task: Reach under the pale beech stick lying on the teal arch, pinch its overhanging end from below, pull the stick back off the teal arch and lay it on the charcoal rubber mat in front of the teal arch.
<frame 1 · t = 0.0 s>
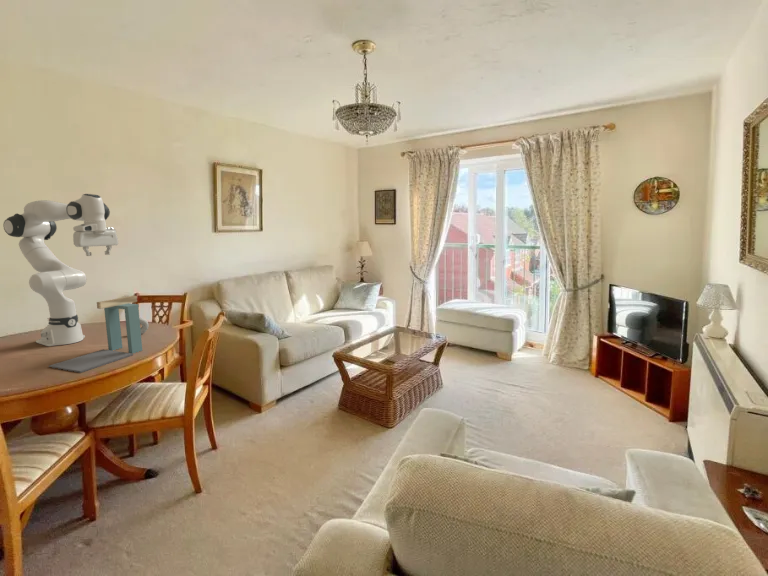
hand: (98, 255, 198), 48 cm above the table, tool pointing down, fingers open, 8 cm apart
donut: (139, 334, 230), on the table
stick: (118, 304, 195), point 24 cm above the table, touching teal arch
teal arch: (125, 350, 200), on the table
mat: (93, 360, 185), on the table
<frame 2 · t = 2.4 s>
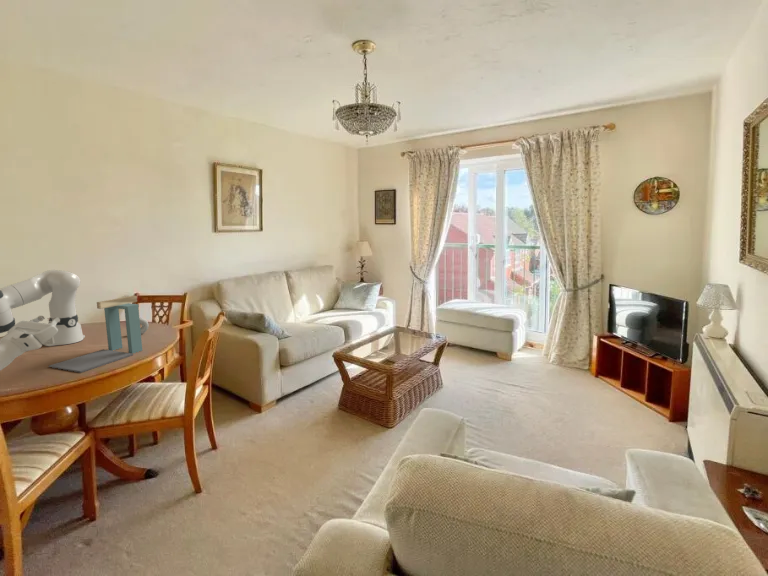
hand: (50, 317, 166), 24 cm above the table, tool pointing upward, fingers open, 8 cm apart
nothing on the table moved.
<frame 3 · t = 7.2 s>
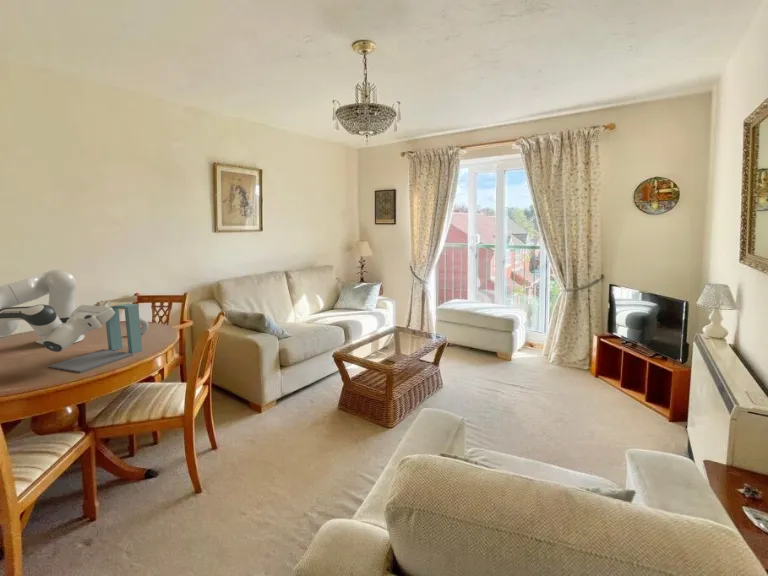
hand: (106, 302, 189), 26 cm above the table, tool pointing upward, fingers closed on stick, 2 cm apart
stick: (118, 304, 195), point 24 cm above the table, touching gripper, teal arch
everything else where it was.
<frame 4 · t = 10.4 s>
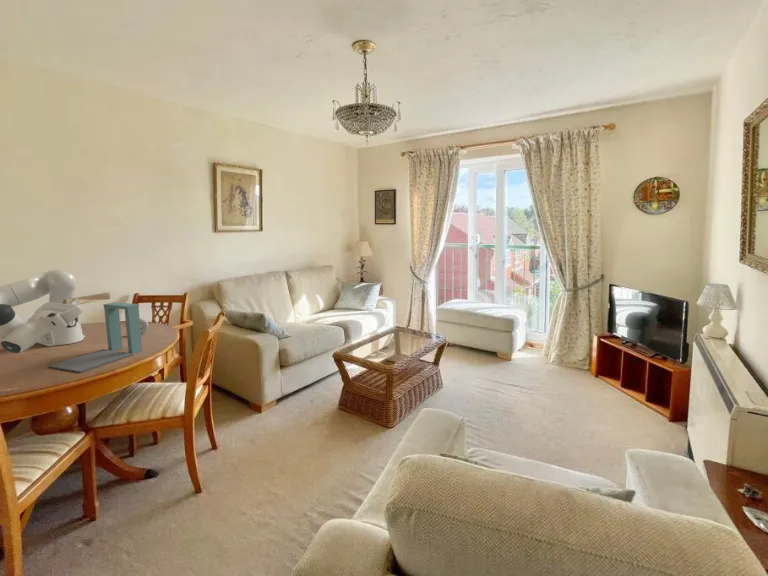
hand: (74, 299, 175), 30 cm above the table, tool pointing upward, fingers closed on stick, 2 cm apart
stick: (88, 302, 181), point 28 cm above the table, touching gripper
everything else where it was.
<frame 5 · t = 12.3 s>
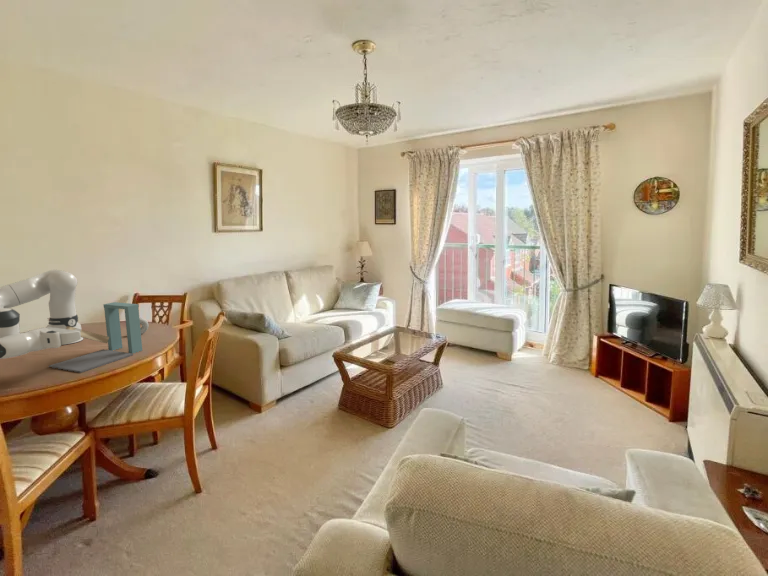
hand: (76, 329, 177), 16 cm above the table, tool horizontal, fingers closed on stick, 2 cm apart
stick: (86, 338, 181), point 12 cm above the table, tilted 29°, touching gripper
everything else where it was.
when the fingers open (12 cm above the table, at t = 13.7 s): stick drops 6 cm, resting on mat.
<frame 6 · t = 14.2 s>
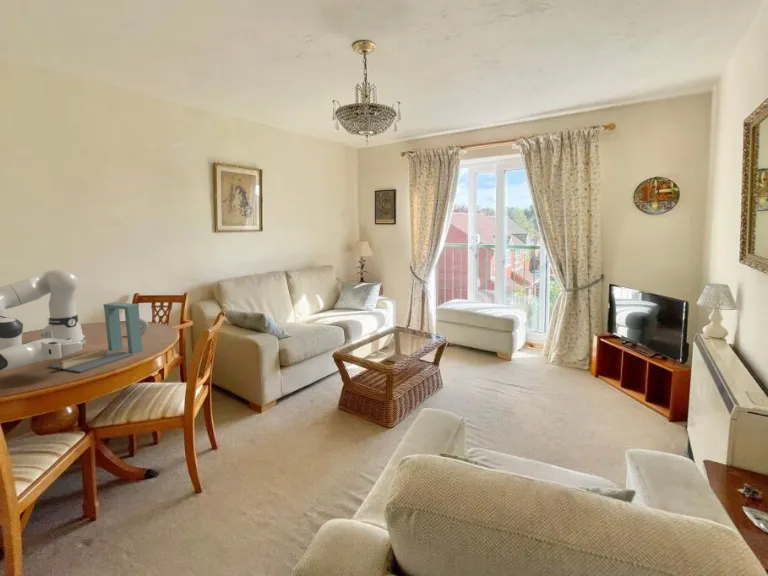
hand: (77, 340, 178), 12 cm above the table, tool horizontal, fingers open, 8 cm apart
stick: (84, 361, 181), point 1 cm above the table, touching mat
everything else where it was.
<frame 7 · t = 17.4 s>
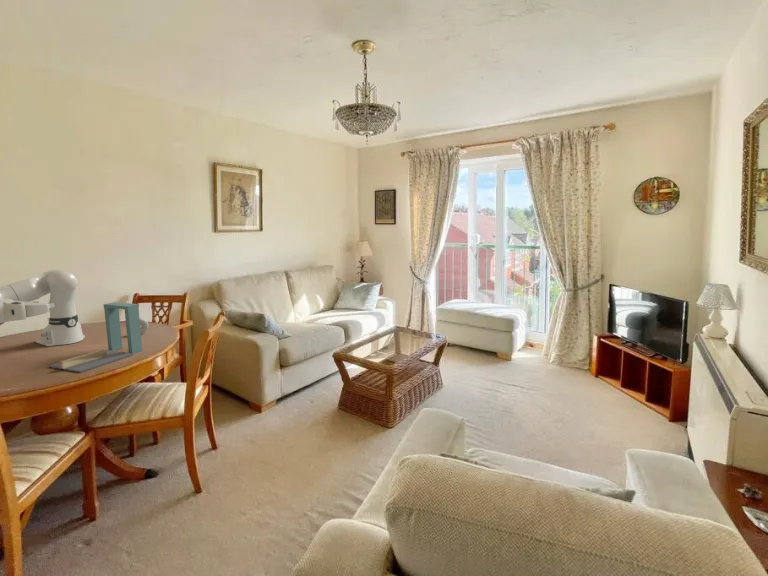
hand: (45, 304, 168), 30 cm above the table, tool horizontal, fingers open, 8 cm apart
nothing on the table moved.
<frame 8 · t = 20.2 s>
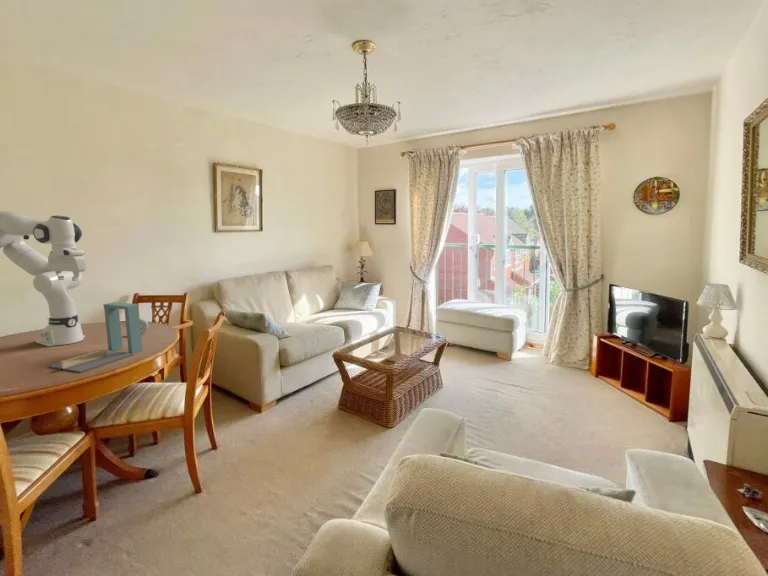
hand: (68, 280, 185), 37 cm above the table, tool pointing down, fingers open, 8 cm apart
nothing on the table moved.
at the end: stick inside the target area (3.5 cm from its centre), point 0.8 cm above the table; stick touching mat; the gripper is holding nothing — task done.
